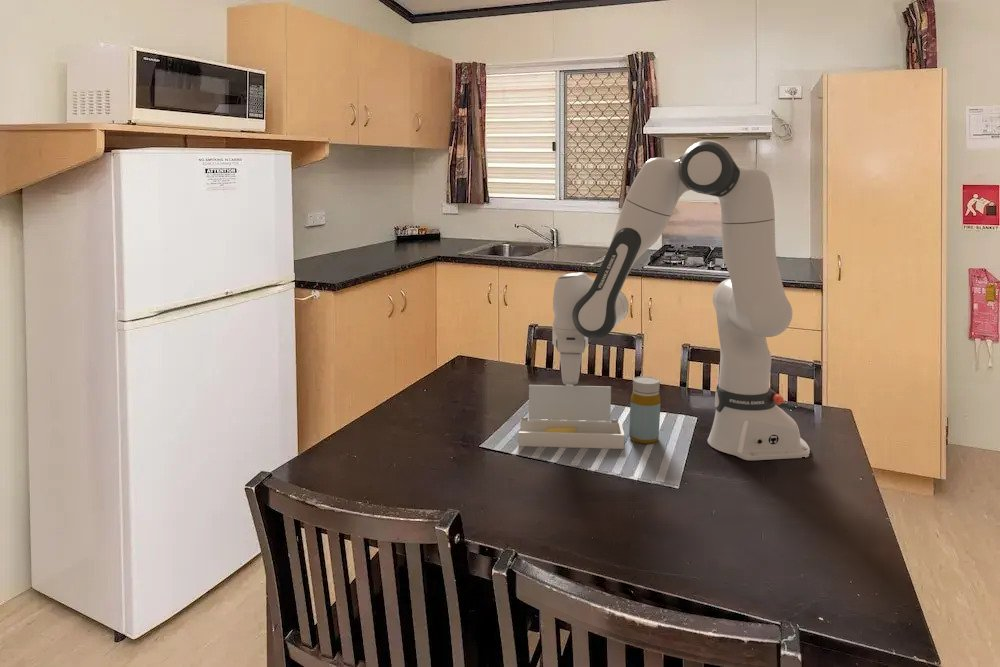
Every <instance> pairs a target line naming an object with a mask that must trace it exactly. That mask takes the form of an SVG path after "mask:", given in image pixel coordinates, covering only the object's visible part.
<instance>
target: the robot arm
mask: <svg viewBox="0 0 1000 667" xmlns="http://www.w3.org/2000/svg"><path fill="white" fill-rule="evenodd" d="M688 191H692V192H695V193H698V194H701V195H702V194H703V195H706V196H712V197H716V198H718V200H719V203H720V204H719V205H720V209H721V210H720V212H721V213H720V214H721V215H720V216H721V218H720V220H721V221H720V222H721V242H722V243H721V244H722V246H721V247H722V259H723V261H724V263H725V266H726V268H727V271H728V275H729V276H728V277H729V278H726V279H724V280H723V281H721V282H720V283H719V284H718V285H717V286H716V287H715V289H714V292H713V293H712V304H713V307H714V310H715V313H716V322H717V333H718V340H719V349H720V351H719V352H720V353H719V354H720V361H719V376H718V383H717V384H716V390H715V396H714V397H715V398H714V407H715V411H714V412H715V413H714V419H713V423H712V426H711V429H710V433H709V436H708V437H707V441H706V442H707V443H708V445H709V446H710V447H711V448H714V449H715V450H717V451H719V452H722V453H726V454H728V455H733V456H736V457H738V458H740V459H742V460H745V461H764V460H765V461H766V460H782V459H783V460H784V459H785V460H786V459H787V460H788V459H803V458H802V457H805V458H808V457H809V456H810V455H809V454H811V451H810V450H811V449H810V445H808V443H807V442H806V440H805V439H803V438H802V437H801V433H800V429H799V426H798V423H797V422H796V421H795V419H793V418H792V417H791V415H789V414H788V413H787V412H785V410H783V409H782V408H780V407H779V406H780V405H782V404H783V403H784V401H785V399H784V397H783V396H782V395H781V394H779V393H777V392H776V391H775V390H774V389H772V388H770V379H771V367H772V355H771V352H770V349H769V346H768V343H767V342H768V341H767V338H773V337H777V336H779V335H781V334H783V332H784V331H786V330H787V329H788V327H789V326H790V324H791V322H792V319H793V307H792V305H791V303H790V302H789V299H788V298H787V294H786V293H785V289H784V285H783V281H782V277H781V272H780V268H779V264H778V259H777V258H778V257H777V253H776V249H777V248H776V219H775V215H776V214H775V203H774V194H773V189H772V185H771V181H770V177H769V175H768V174H767V173H766V172H765V171H764V170H761V169H759V168H755V167H754V168H753V167H740V166H738V165H737V164H736V162H735V161H734V158H733V156H732V154H731V152H730V151H729V149H728V148H727V147H726V146H725V145H724V144H722V142H719V141H717V140H711V139H705V140H700V141H698V142H697V141H696V142H695V143H693V144H692V145H691V146H689V147H688V148H687V149H686V150H685V152H684V153H683V154H682V155H681V156H680V157H679V158H678V159H676V160H675V159H674V160H673V159H669V158H665V157H661V156H660V157H652V158H649V159H648V160H647V161H645V162H644V163H643V165H642V166H641V168H640V170H639V172H638V173H637V175H636V176H635V177H634V180H633V181H632V184H631V185H630V188H629V189H628V192H627V194H626V197H625V199H624V202H623V205H622V207H621V209H620V213H619V215H618V218H617V219H618V220H617V223H616V226H615V228H614V229H615V230H614V232H613V235H612V239H611V241H610V244H609V248H608V249H607V252H606V254H605V257H604V258H603V261H602V263H601V265H600V267H599V269H598V272H597V274H596V276H595V279H593V278H591V276H589V275H588V273H586V272H582V271H581V272H580V271H578V272H577V271H576V272H569V273H565V274H563V275H561V276H559V277H558V278H557V279H556V281H555V283H554V287H553V288H554V289H553V298H552V310H553V315H554V317H553V318H554V319H553V323H552V345H553V346H554V347H555V348H556V351H557V353H558V355H559V361H560V362H559V363H560V371H561V372H560V374H561V379H562V380H561V381H562V383H563V385H565V386H574V385H577V384H578V382H579V379H580V372H581V362H582V357H583V356H582V355H583V354H584V353H585V350H586V347H587V346H588V345H589V339H593V340H597V339H603V338H605V337H607V336H608V335H609V334H610V333H611V332H612V331H613V329H614V328H616V326H618V325H619V324H620V323H621V322H622V321H623V320H625V318H626V317H627V315H628V312H629V302H628V299H627V296H626V295H625V294H624V293H623V292H622V289H623V287H624V284H625V282H626V280H627V277H628V275H629V273H630V271H631V270H632V268H633V266H634V264H635V263H636V261H638V259H639V258H640V257H641V256H642V255H643V254H644V253H645V252H647V251H648V249H650V248H651V247H652V246H653V245H654V244H656V243H657V241H658V240H659V239H660V238H661V236H662V234H663V233H664V231H665V230H666V228H667V225H668V224H669V221H670V220H671V217H672V215H673V213H674V210H675V207H676V206H677V203H678V202H679V200H680V198H681V197H682V196H683V195H684V194H685V193H686V192H688Z"/></svg>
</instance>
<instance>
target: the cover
mask: <svg viewBox="0 0 1000 667" xmlns="http://www.w3.org/2000/svg"><path fill="white" fill-rule="evenodd" d="M611 400H612V386H609V385H608V386H605V385H604V386H603V385H601V386H599V385H597V386H596V385H573V386H566V385H553V384H552V385H550V384H529V385H528V420H563V421H604V422H611V412H612V411H611V410H612V407H611V406H612V404H611V403H612V401H611Z"/></svg>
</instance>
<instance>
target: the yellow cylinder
mask: <svg viewBox="0 0 1000 667" xmlns="http://www.w3.org/2000/svg"><path fill="white" fill-rule="evenodd" d="M545 432H560V433H576V429H575V427H565V428H547V429H545Z"/></svg>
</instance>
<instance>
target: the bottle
mask: <svg viewBox="0 0 1000 667" xmlns="http://www.w3.org/2000/svg"><path fill="white" fill-rule="evenodd" d="M660 387H661V386H660V379H659V378H657V377H653V376H648V375H640V376H636V377H634V378H633V380H632V394H631V396H630V404H629V405H630V408H629V409H630V410H629V429H628V430H629V431H628V432H629V434H628V436H629V439H630V440H631V441H632V442H634V443H636V444H641V445H651V444H653V443H656V442H657V441H658V440H659V437H660V420H661V419H660V418H661V397H660ZM650 443H651V444H650Z"/></svg>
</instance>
